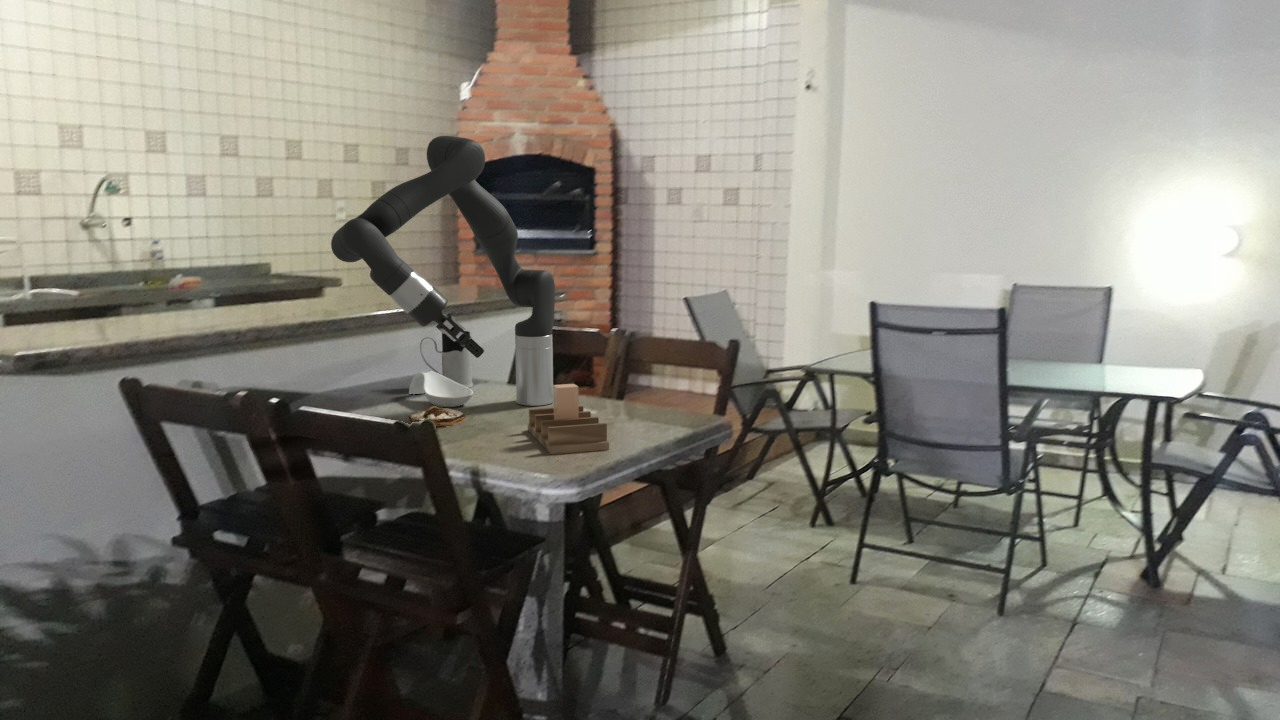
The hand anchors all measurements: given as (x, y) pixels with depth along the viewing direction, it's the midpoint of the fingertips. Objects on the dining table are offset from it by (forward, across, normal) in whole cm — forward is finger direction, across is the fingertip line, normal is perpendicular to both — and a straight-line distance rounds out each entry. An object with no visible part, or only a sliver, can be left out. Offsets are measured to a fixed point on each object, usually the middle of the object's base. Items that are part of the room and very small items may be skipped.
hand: (477, 351), depth 194 cm
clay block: (+25, -5, 0) cm, 25 cm away
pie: (+10, +22, +18) cm, 30 cm away
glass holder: (+16, +64, +12) cm, 67 cm away
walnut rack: (+26, -5, +1) cm, 26 cm away
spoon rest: (+12, +45, +16) cm, 49 cm away
